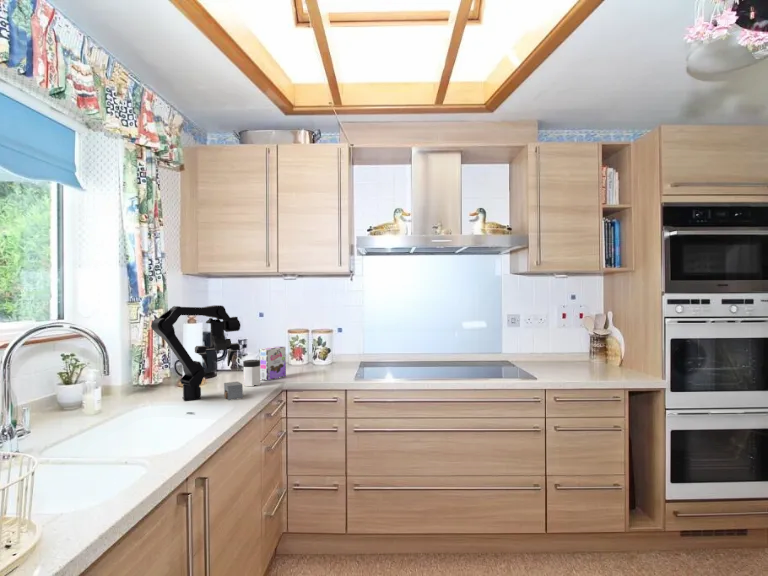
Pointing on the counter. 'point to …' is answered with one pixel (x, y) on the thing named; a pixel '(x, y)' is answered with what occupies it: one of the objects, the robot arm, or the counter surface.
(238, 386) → the gray rectangular block
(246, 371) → the jar
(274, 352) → the candy box
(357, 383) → the counter surface
